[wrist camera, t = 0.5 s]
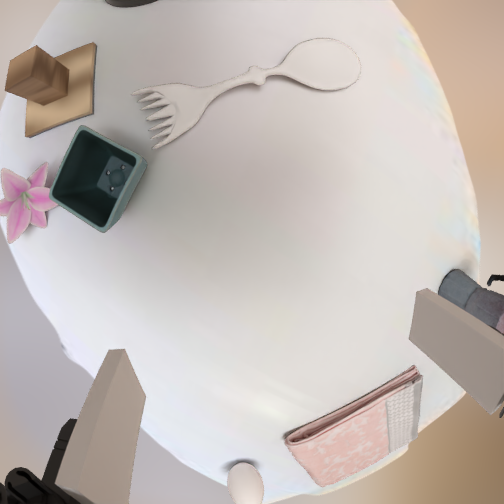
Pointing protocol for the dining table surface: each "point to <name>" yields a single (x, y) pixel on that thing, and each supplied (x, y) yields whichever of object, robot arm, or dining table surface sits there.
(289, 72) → the white spork
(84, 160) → the flower pot
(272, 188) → the dining table surface
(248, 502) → the white tall oval piece
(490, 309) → the moka pot
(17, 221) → the lily
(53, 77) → the lid
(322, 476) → the towel
